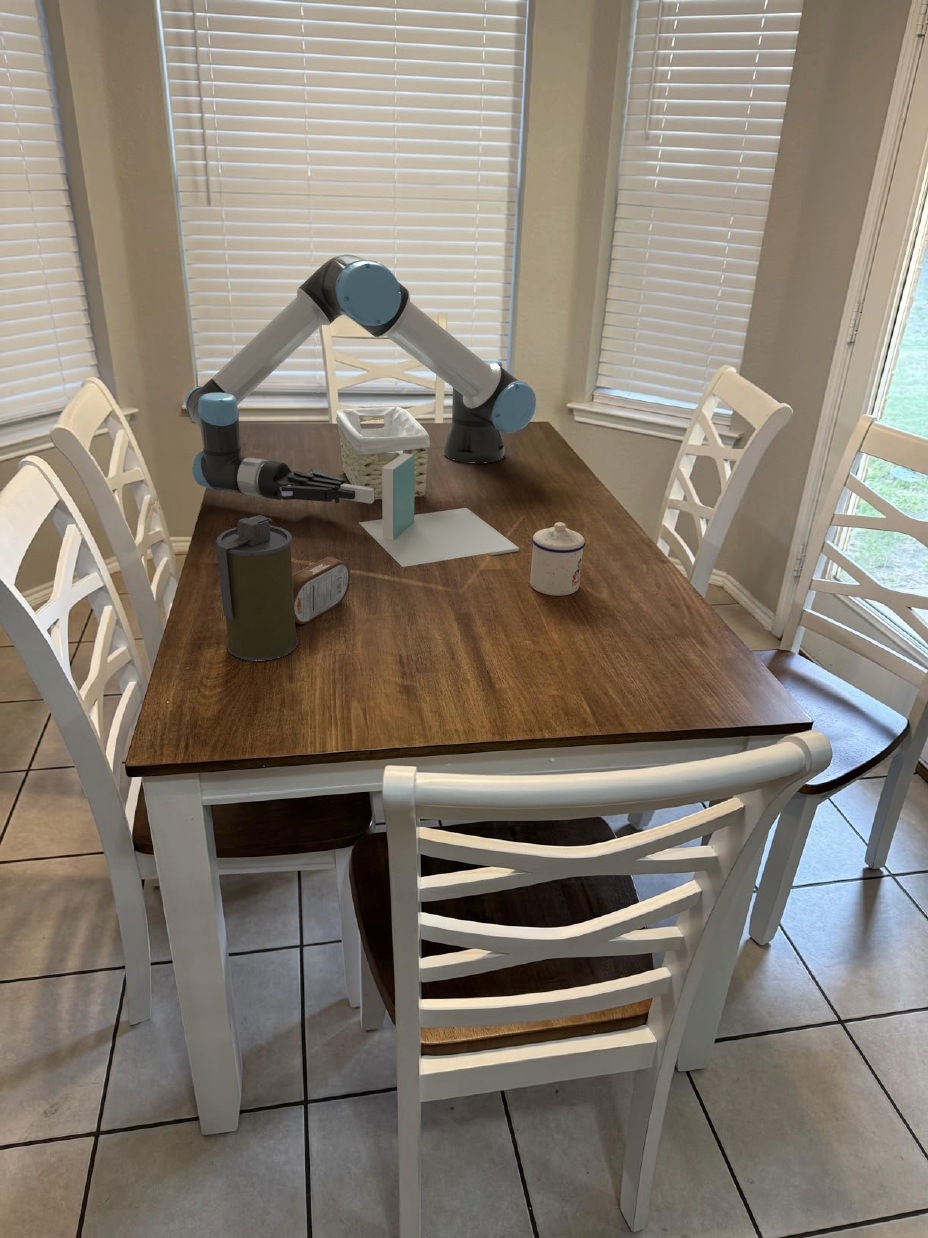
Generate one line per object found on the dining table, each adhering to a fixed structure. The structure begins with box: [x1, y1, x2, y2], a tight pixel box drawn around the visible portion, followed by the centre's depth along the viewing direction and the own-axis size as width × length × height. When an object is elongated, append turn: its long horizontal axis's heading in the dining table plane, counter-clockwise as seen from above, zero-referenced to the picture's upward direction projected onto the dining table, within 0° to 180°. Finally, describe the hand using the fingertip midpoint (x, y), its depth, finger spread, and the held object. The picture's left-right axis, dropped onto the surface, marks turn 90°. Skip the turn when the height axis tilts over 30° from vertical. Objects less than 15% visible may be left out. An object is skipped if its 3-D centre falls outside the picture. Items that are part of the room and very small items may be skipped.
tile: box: [381, 453, 415, 540], centre depth 170 cm, size 2×10×14 cm, turn 161°
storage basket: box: [335, 406, 431, 500], centre depth 195 cm, size 24×16×15 cm
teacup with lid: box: [529, 521, 586, 597], centre depth 153 cm, size 12×9×12 cm
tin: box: [292, 556, 351, 625], centre depth 140 cm, size 15×3×8 cm, turn 149°
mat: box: [358, 507, 520, 568], centre depth 172 cm, size 24×23×1 cm
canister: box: [215, 514, 299, 661], centre depth 128 cm, size 11×10×20 cm
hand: (372, 495), depth 172 cm, fingers closed
